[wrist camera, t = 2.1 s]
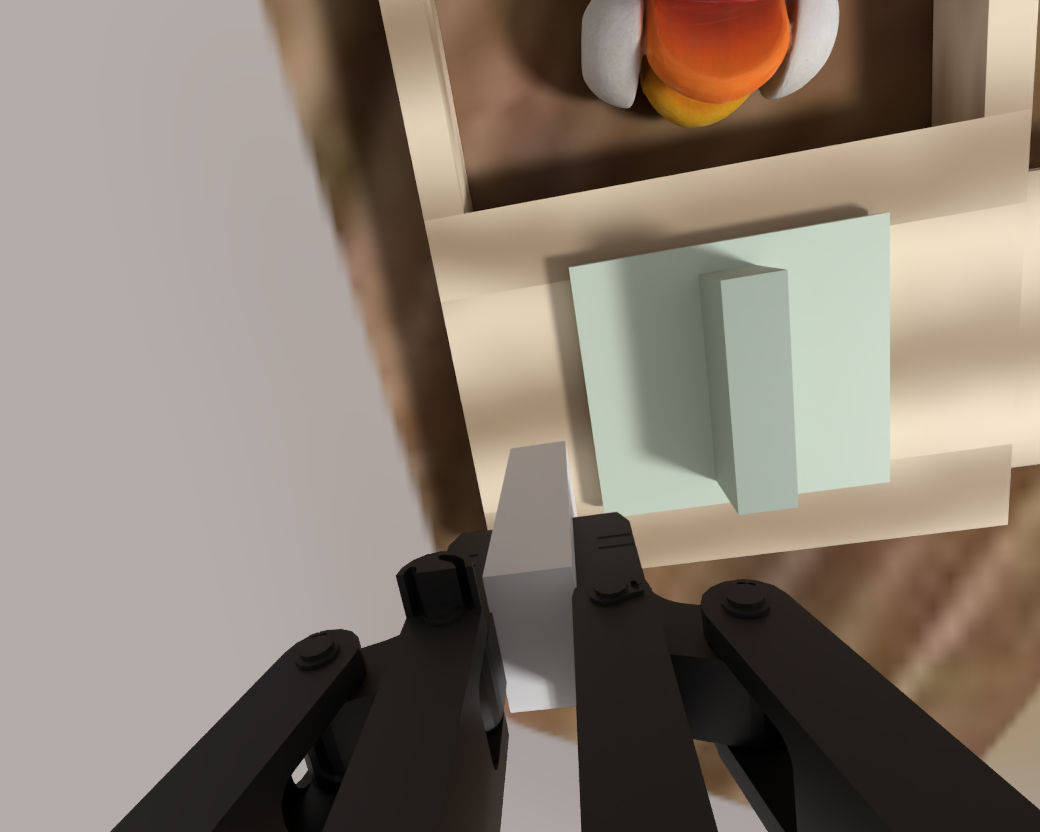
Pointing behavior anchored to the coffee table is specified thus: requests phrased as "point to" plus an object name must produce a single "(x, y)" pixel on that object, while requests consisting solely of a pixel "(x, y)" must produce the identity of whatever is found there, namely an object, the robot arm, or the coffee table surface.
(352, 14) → the coffee table surface
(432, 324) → the coffee table surface
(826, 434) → the lid
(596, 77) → the rainbow toy vehicle
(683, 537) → the board
